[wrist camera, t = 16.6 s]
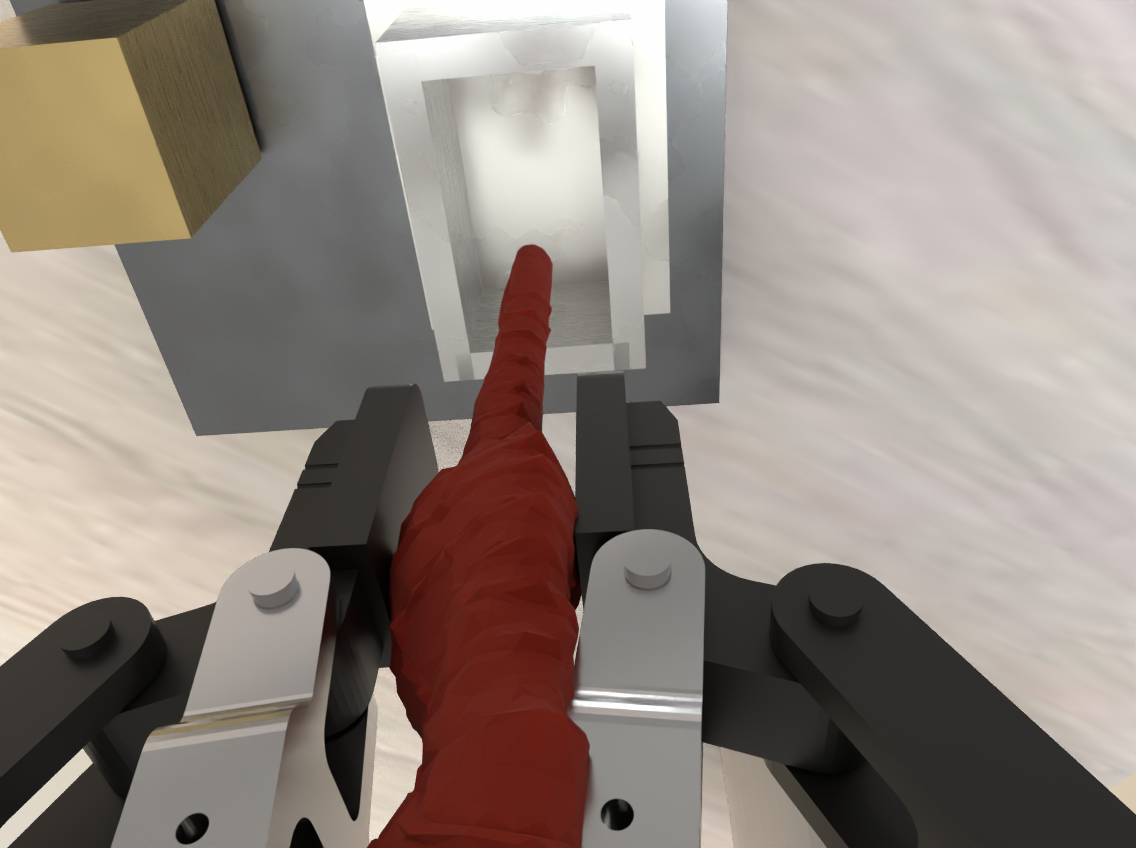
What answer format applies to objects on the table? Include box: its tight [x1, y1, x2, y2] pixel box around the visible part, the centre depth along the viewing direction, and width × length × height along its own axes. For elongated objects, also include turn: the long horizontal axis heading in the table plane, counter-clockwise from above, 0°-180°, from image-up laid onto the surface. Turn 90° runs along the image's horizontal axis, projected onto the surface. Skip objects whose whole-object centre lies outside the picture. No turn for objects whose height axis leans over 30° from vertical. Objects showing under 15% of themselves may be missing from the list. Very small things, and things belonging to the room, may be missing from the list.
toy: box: [367, 244, 590, 848], centre depth 12 cm, size 2×5×15 cm, turn 159°
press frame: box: [10, 0, 727, 436], centre depth 21 cm, size 16×17×6 cm
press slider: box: [0, 0, 262, 252], centre depth 19 cm, size 4×4×5 cm
